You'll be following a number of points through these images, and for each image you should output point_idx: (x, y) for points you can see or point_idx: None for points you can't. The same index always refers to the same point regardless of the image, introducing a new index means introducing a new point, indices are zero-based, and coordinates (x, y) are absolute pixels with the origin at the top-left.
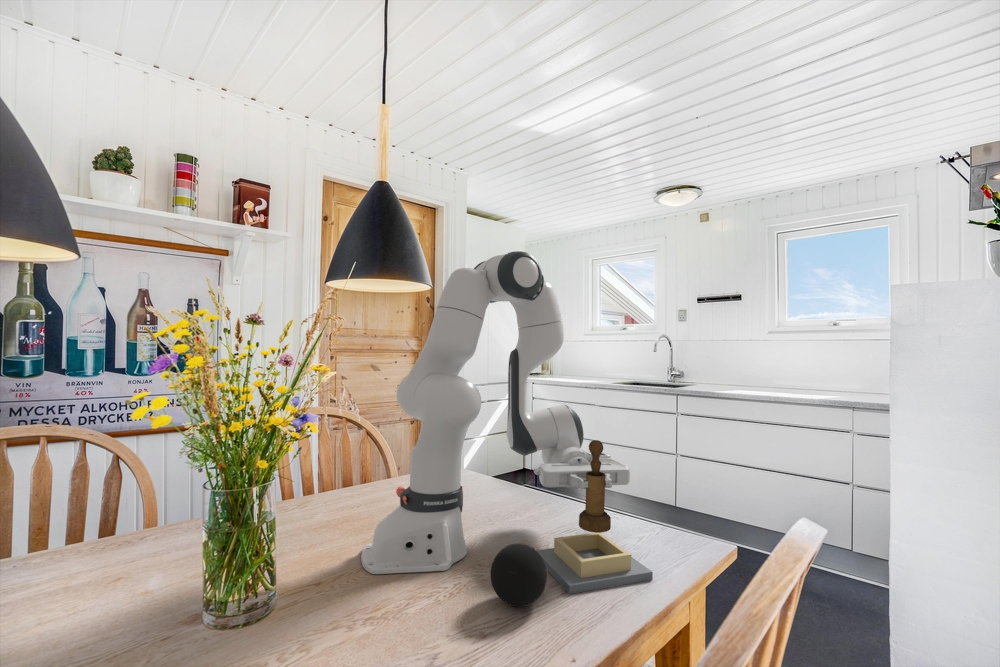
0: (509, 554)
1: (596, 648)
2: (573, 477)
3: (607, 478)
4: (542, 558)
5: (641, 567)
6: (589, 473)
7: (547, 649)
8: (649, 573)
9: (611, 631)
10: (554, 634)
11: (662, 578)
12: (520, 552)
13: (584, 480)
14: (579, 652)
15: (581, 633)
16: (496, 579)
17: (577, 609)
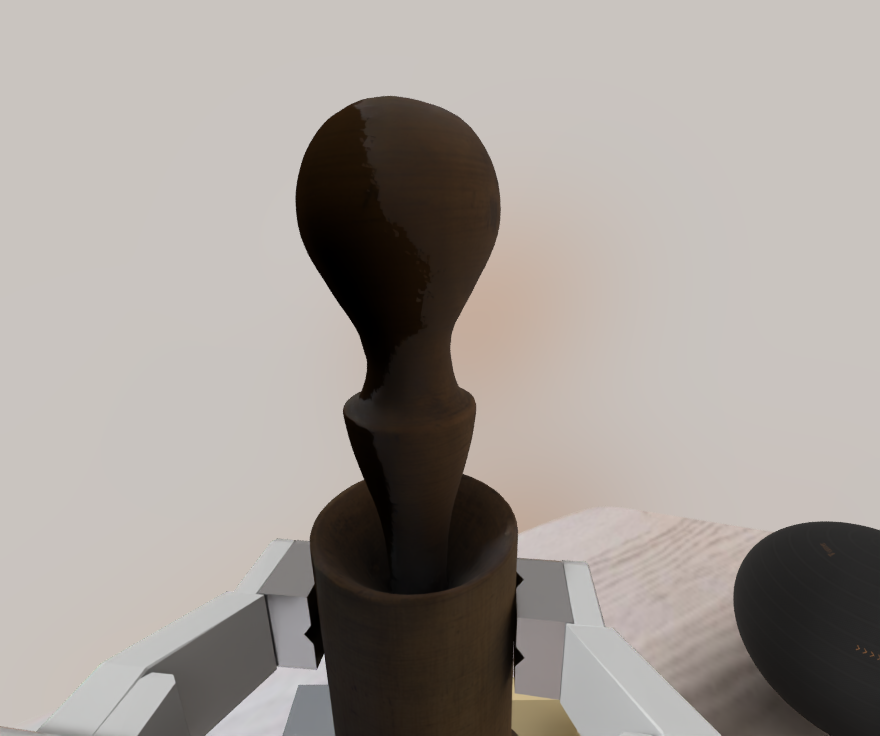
0: None
1: (600, 518)
2: (680, 706)
3: (284, 561)
4: (768, 569)
5: (304, 731)
6: (452, 588)
7: (695, 533)
8: (311, 689)
9: (558, 543)
10: (683, 560)
11: (260, 704)
12: (854, 524)
13: (552, 561)
14: (633, 518)
15: (623, 551)
16: None
17: (621, 621)
